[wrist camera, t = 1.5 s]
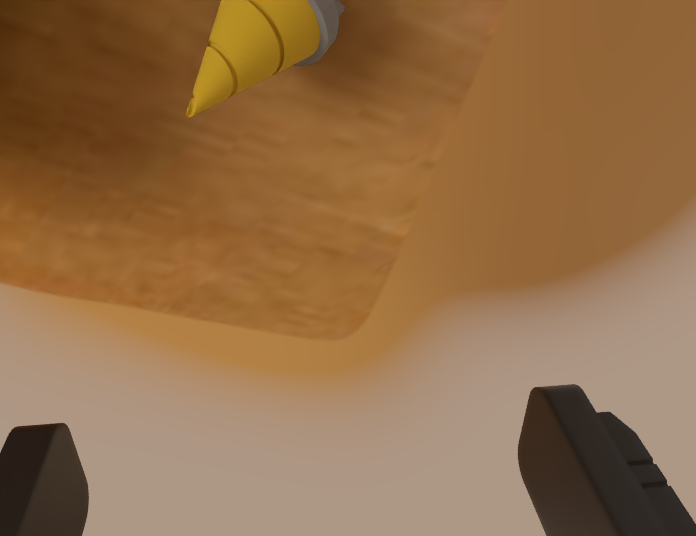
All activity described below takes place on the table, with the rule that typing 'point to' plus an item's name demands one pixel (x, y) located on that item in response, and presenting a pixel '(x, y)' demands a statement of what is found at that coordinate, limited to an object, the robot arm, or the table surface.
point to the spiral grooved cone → (261, 44)
